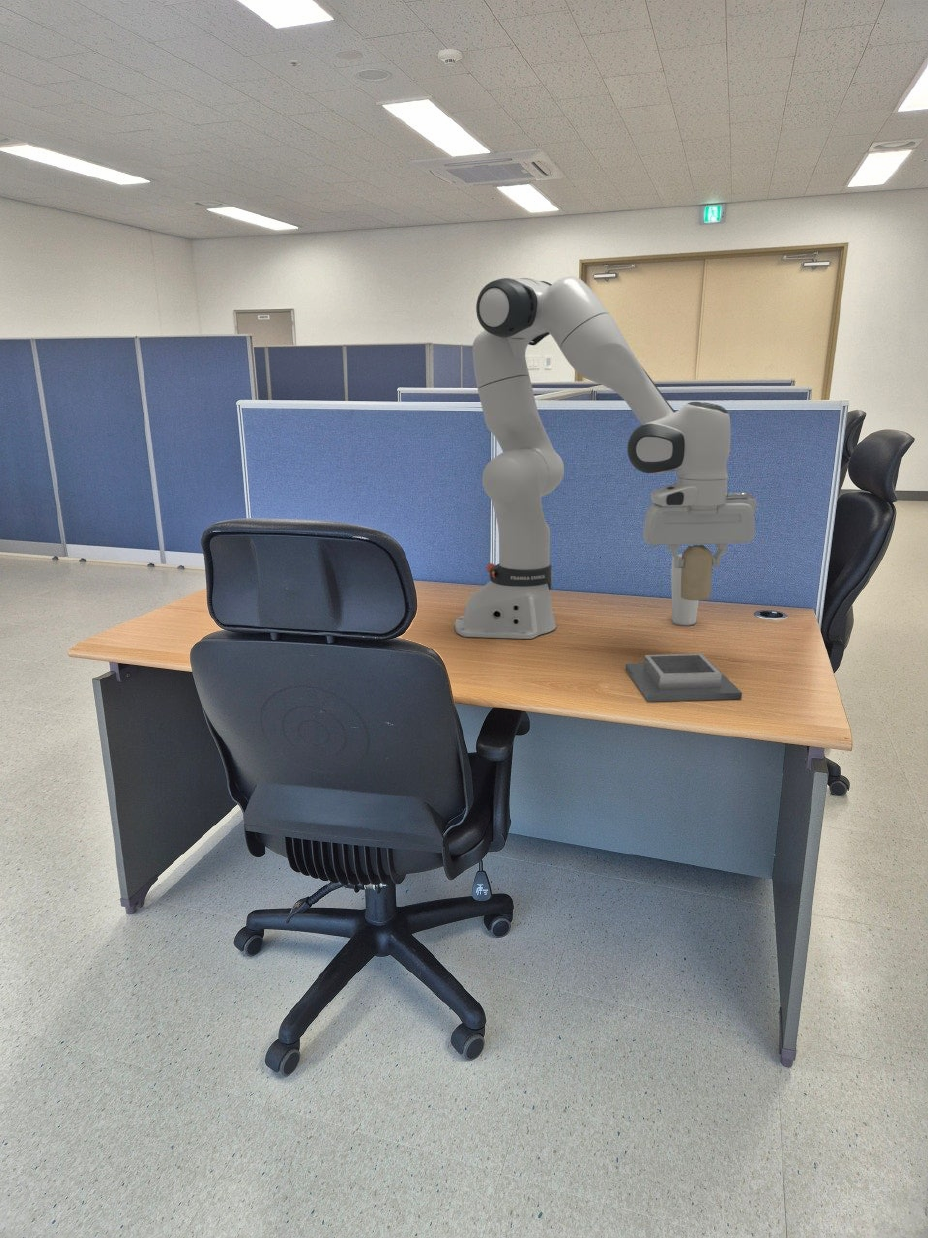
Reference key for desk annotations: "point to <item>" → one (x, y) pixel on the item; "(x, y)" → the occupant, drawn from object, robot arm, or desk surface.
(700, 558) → the candle
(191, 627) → the desk surface
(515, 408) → the robot arm
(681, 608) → the drinking glass
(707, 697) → the candle stand
